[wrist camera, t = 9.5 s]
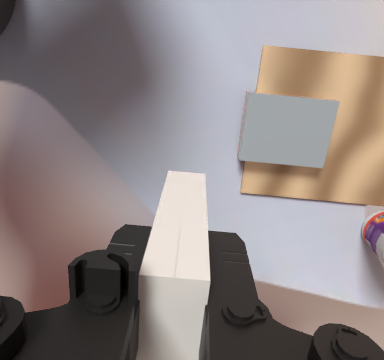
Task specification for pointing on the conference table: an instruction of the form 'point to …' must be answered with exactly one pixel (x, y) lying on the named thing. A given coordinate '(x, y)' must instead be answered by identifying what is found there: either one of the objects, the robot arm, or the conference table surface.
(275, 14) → the conference table surface
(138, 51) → the conference table surface
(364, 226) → the pill bottle
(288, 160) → the tile
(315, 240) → the conference table surface
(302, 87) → the mat
